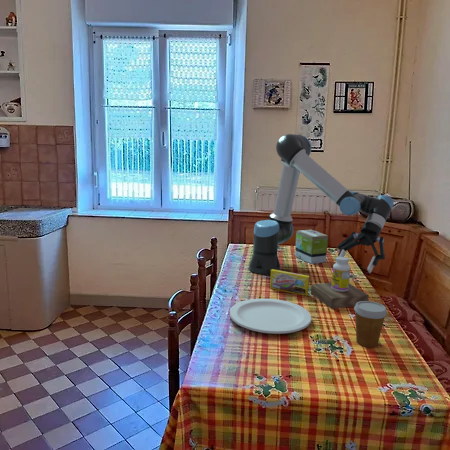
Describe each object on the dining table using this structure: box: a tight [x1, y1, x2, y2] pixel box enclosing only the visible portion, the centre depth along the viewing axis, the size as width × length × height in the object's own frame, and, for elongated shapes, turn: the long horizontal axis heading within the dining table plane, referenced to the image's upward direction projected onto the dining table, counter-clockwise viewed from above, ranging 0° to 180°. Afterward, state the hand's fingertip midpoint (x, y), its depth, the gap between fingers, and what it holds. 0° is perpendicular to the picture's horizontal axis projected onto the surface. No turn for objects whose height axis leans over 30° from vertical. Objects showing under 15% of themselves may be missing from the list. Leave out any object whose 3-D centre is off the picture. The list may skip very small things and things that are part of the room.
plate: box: [229, 298, 312, 335], centre depth 144 cm, size 28×28×2 cm
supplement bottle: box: [331, 256, 351, 292], centre depth 163 cm, size 7×7×13 cm
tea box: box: [294, 229, 329, 265], centre depth 219 cm, size 15×10×15 cm, turn 25°
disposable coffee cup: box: [353, 300, 388, 348], centre depth 127 cm, size 10×10×12 cm
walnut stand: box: [310, 282, 370, 309], centre depth 164 cm, size 16×16×4 cm
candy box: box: [269, 269, 310, 297], centre depth 171 cm, size 16×2×8 cm, turn 62°
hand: (352, 267), depth 169 cm, fingers open, 13 cm apart
